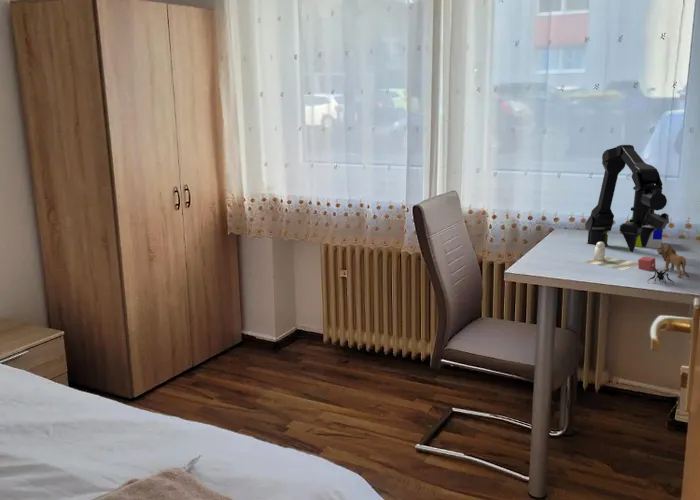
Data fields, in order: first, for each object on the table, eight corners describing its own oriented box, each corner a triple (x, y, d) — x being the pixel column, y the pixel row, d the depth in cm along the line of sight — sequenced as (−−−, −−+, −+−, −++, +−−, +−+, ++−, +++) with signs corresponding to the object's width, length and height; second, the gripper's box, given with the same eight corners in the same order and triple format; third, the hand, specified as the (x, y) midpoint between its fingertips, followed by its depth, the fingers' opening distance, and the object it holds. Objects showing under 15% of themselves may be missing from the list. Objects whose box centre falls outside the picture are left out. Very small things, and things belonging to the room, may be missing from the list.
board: (582, 264, 240) (582, 262, 240) (601, 257, 249) (602, 255, 249) (623, 273, 229) (623, 270, 229) (641, 265, 238) (642, 263, 238)
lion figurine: (652, 268, 235) (655, 243, 233) (665, 267, 237) (668, 242, 234) (682, 279, 222) (686, 253, 219) (696, 278, 223) (699, 252, 221)
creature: (674, 291, 214) (672, 279, 220) (676, 276, 211) (675, 264, 218) (647, 288, 216) (646, 276, 223) (649, 273, 214) (648, 262, 221)
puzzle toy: (660, 247, 263) (663, 222, 261) (633, 246, 265) (636, 221, 263) (654, 242, 273) (657, 217, 270) (628, 240, 275) (631, 216, 272)
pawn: (591, 259, 243) (593, 241, 241) (596, 258, 245) (598, 240, 243) (601, 261, 240) (603, 243, 238) (606, 260, 242) (608, 241, 241)
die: (638, 259, 231) (650, 261, 228) (644, 256, 233) (656, 257, 230) (638, 271, 232) (651, 273, 229) (644, 268, 235) (656, 269, 231)
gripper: (654, 211, 217) (649, 258, 220) (678, 204, 229) (673, 249, 233) (621, 207, 224) (616, 252, 228) (645, 200, 237) (641, 243, 241)
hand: (637, 249), depth 232 cm, fingers open, 9 cm apart
